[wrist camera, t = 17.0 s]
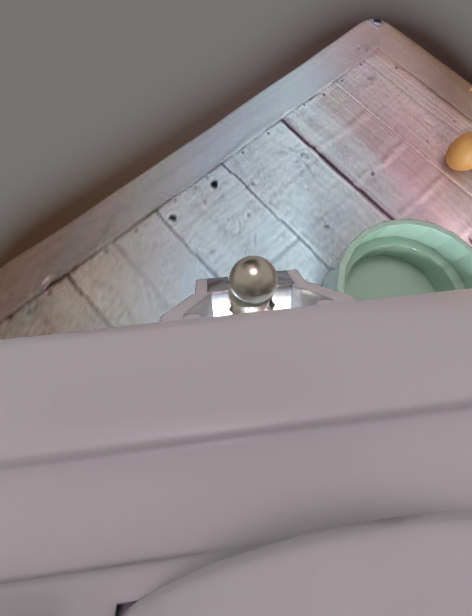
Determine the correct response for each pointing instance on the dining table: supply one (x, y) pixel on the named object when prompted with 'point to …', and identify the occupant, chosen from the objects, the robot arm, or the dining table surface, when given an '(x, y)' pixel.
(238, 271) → the meat pounder
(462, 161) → the figurine
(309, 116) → the dining table surface
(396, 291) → the bowl
